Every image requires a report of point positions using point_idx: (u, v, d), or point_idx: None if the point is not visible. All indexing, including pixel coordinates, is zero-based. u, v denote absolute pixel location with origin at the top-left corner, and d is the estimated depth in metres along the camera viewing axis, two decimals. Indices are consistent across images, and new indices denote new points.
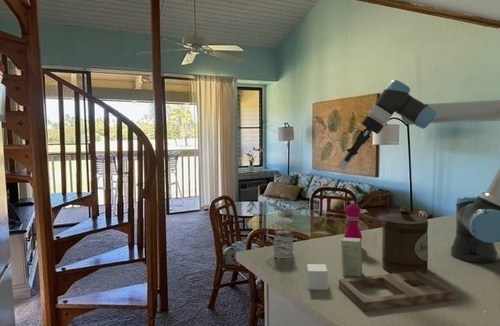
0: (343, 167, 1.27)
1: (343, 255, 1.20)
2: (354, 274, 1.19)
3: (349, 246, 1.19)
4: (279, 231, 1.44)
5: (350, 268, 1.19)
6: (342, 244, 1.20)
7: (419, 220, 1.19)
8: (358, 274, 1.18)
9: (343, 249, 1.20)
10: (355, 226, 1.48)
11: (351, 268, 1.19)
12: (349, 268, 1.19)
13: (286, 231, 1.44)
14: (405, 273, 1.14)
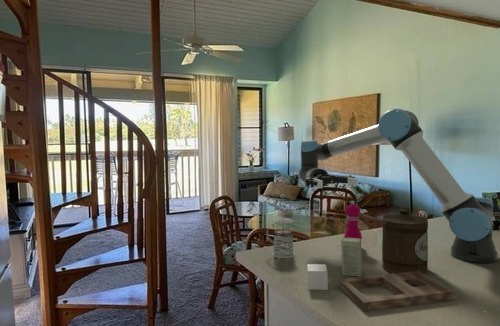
0: (319, 182, 1.28)
1: (343, 255, 1.20)
2: (354, 274, 1.19)
3: (349, 246, 1.19)
4: (279, 231, 1.44)
5: (350, 268, 1.19)
6: (342, 244, 1.20)
7: (419, 220, 1.19)
8: (358, 274, 1.18)
9: (343, 249, 1.20)
10: (355, 226, 1.48)
11: (351, 268, 1.19)
12: (349, 268, 1.19)
13: (286, 231, 1.44)
14: (405, 273, 1.14)
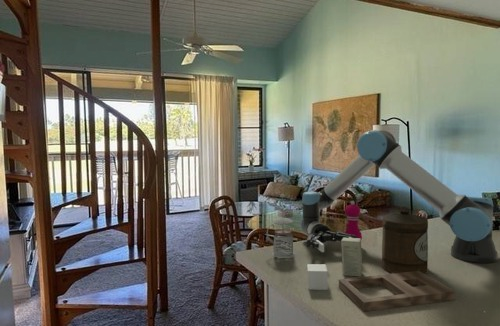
0: (321, 245, 1.29)
1: (343, 255, 1.20)
2: (354, 274, 1.19)
3: (349, 246, 1.19)
4: (279, 231, 1.44)
5: (350, 268, 1.19)
6: (342, 244, 1.20)
7: (419, 220, 1.19)
8: (358, 274, 1.18)
9: (343, 249, 1.20)
10: (355, 226, 1.48)
11: (351, 268, 1.19)
12: (349, 268, 1.19)
13: (286, 231, 1.44)
14: (405, 273, 1.14)
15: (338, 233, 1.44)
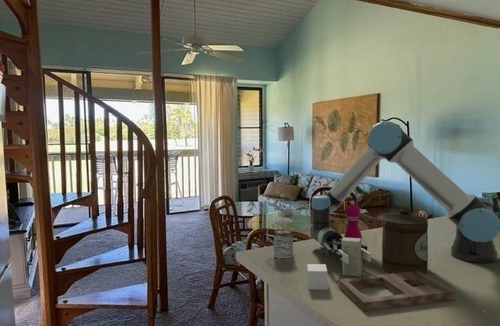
0: (345, 256, 1.16)
1: None
2: (354, 274, 1.19)
3: (349, 246, 1.19)
4: (279, 231, 1.44)
5: (350, 268, 1.19)
6: (342, 244, 1.20)
7: (419, 220, 1.19)
8: (358, 274, 1.18)
9: (343, 249, 1.20)
10: (355, 226, 1.48)
11: (351, 268, 1.19)
12: (349, 268, 1.19)
13: (286, 231, 1.44)
14: (405, 273, 1.14)
15: None
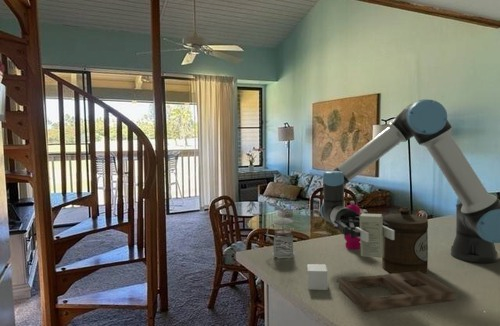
0: (364, 234, 1.00)
1: None
2: (374, 255, 1.03)
3: (369, 222, 1.03)
4: (279, 231, 1.44)
5: (370, 248, 1.03)
6: (360, 220, 1.04)
7: (419, 220, 1.19)
8: (379, 255, 1.02)
9: (362, 226, 1.03)
10: None
11: (371, 248, 1.03)
12: (368, 248, 1.03)
13: (286, 231, 1.44)
14: (405, 273, 1.14)
15: None
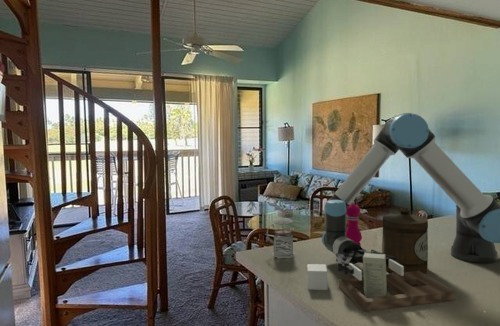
0: (357, 272, 1.00)
1: (365, 274, 1.03)
2: (378, 296, 1.02)
3: (372, 263, 1.02)
4: (279, 231, 1.44)
5: (373, 289, 1.02)
6: (364, 261, 1.03)
7: (419, 220, 1.19)
8: None
9: (365, 267, 1.03)
10: (355, 226, 1.48)
11: (375, 289, 1.02)
12: (372, 289, 1.03)
13: (286, 231, 1.44)
14: (405, 273, 1.14)
15: None
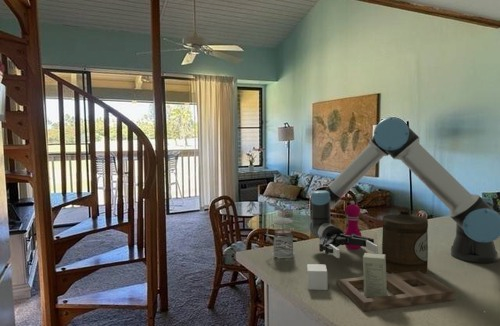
0: (336, 251, 1.14)
1: (365, 274, 1.03)
2: (378, 296, 1.02)
3: (372, 263, 1.02)
4: (279, 231, 1.44)
5: (373, 289, 1.02)
6: (364, 261, 1.03)
7: (419, 220, 1.19)
8: None
9: (365, 267, 1.03)
10: (355, 226, 1.48)
11: (375, 289, 1.02)
12: (372, 289, 1.03)
13: (286, 231, 1.44)
14: (405, 273, 1.14)
15: (353, 236, 1.30)
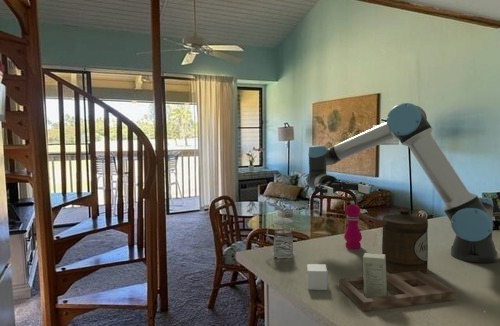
0: (330, 190, 1.24)
1: (365, 274, 1.03)
2: (378, 296, 1.02)
3: (372, 263, 1.02)
4: (279, 231, 1.44)
5: (373, 289, 1.02)
6: (364, 261, 1.03)
7: (419, 220, 1.19)
8: None
9: (365, 267, 1.03)
10: (355, 226, 1.48)
11: (375, 289, 1.02)
12: (372, 289, 1.03)
13: (286, 231, 1.44)
14: (405, 273, 1.14)
15: (346, 183, 1.40)
